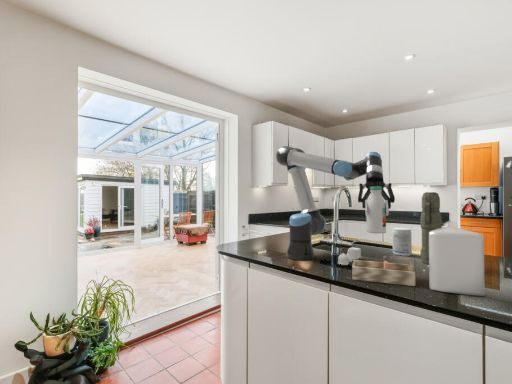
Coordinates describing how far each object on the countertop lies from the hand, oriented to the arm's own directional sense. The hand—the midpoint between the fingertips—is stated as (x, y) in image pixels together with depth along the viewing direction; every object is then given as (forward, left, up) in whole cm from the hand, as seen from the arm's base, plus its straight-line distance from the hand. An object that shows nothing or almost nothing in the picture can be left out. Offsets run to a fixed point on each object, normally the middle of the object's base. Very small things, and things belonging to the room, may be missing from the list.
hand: (376, 213), depth 114 cm
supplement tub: (+15, +49, -26) cm, 57 cm away
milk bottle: (0, +4, -9) cm, 9 cm away
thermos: (+26, +32, -26) cm, 48 cm away
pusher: (+3, -4, -25) cm, 25 cm away
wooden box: (+2, -4, -26) cm, 26 cm away
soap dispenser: (+25, -7, -26) cm, 37 cm away
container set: (-12, +22, -26) cm, 37 cm away
